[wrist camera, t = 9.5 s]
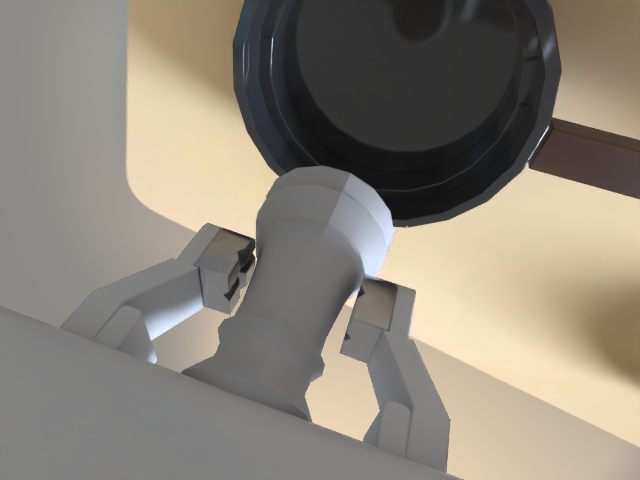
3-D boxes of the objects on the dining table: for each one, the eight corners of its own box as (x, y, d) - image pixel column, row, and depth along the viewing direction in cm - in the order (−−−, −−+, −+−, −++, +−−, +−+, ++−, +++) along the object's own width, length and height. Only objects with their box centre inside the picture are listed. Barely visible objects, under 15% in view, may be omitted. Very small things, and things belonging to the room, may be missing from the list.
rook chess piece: (287, 134, 12) (116, 365, 7) (421, 195, 12) (363, 477, 7) (260, 229, 15) (129, 439, 10) (366, 278, 15) (296, 514, 10)
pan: (273, -139, 18) (228, -137, 15) (624, -67, 16) (655, -48, 13) (263, 149, 29) (235, 184, 26) (473, 211, 27) (470, 257, 24)
